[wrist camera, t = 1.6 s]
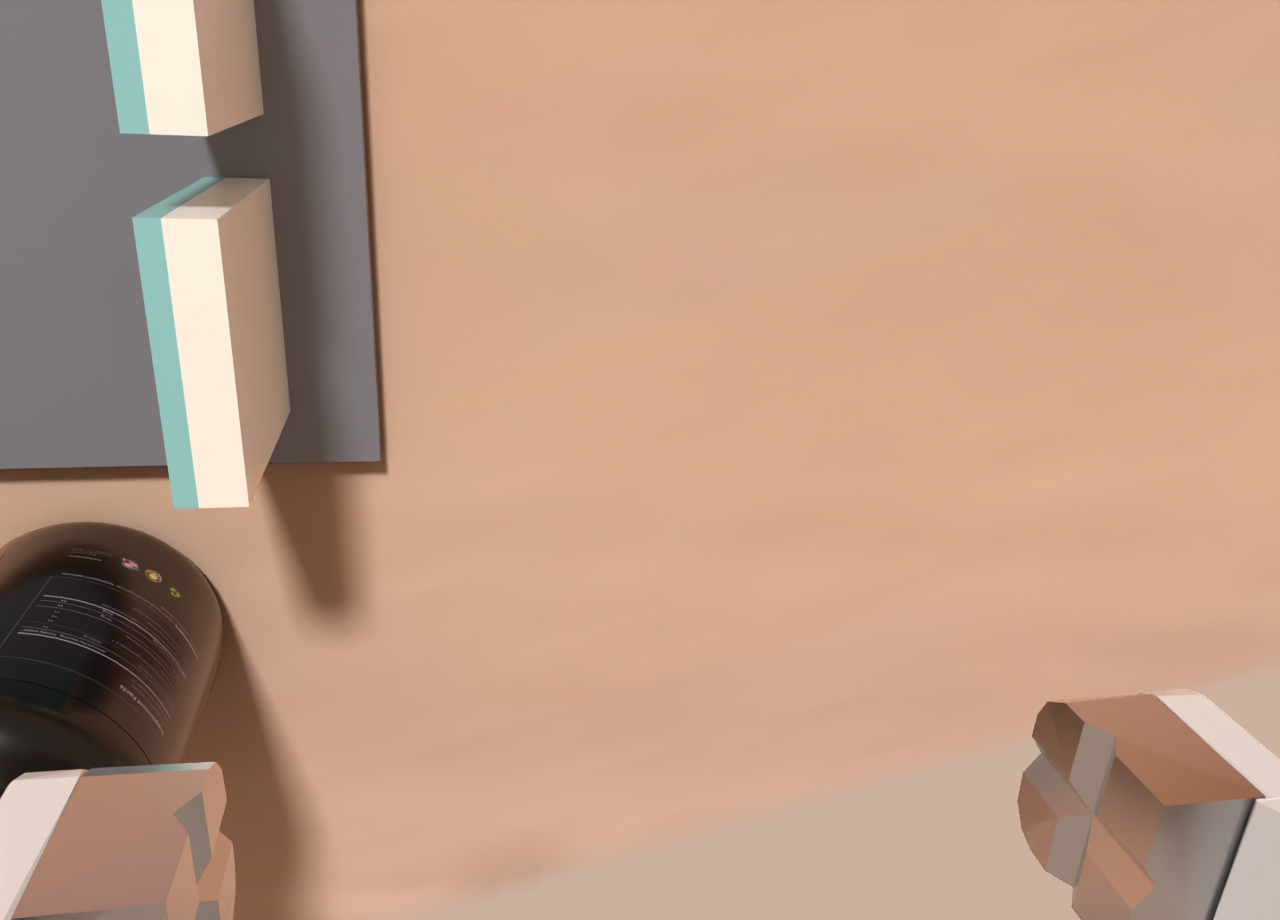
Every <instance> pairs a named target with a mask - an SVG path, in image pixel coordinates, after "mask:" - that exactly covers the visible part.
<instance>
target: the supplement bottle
mask: <svg viewBox="0 0 1280 920" xmlns="http://www.w3.org/2000/svg"><path fill="white" fill-rule="evenodd" d="M223 641H224V627H223V619H222V614H221V610H220V606H219V604H218V601H217V598H216V596H215V594H214V592H213V590H212V588H211V586H210V585H209V583H208V581H207V580H206V578H205V577H204V576H203V575H202V573H201V572H200V571H199V570H198V569H197V568H196V567H195V565H194V564H193V563H192V562H191V561H189V560H188V559H187V558H186V557H185V556H184V555H183V554H181V553H180V552H178V551H177V550H176V549H174V548H173V547H171V546H170V545H168V544H166V543H165V542H163V541H161V540H159V539H157V538H155V537H153V536H151V535H149V534H146V533H143V532H141V531H138V530H135V529H132V528H128V527H124V526H119V525H115V524H107V523H99V522H72V523H63V524H57V525H52V526H48V527H44V528H41V529H37V530H35V531H32V532H29V533H27V534H24V535H22V536H20V537H18V538H16V539H14V540H12V541H10V542H9V543H7V544H6V545H4V546H2V547H1V548H0V799H1V797H2V795H3V793H4V792H5V790H6V788H7V787H8V785H9V784H10V783H11V782H12V781H13V780H15V779H16V778H18V777H19V776H21V775H22V774H24V773H30V772H46V771H61V770H77V769H85V770H90V769H91V768H104V767H124V766H143V765H162V764H181V763H186V760H187V757H188V754H189V751H190V748H191V745H192V742H193V739H194V736H195V734H196V731H197V728H198V725H199V722H200V719H201V716H202V713H203V710H204V707H205V704H206V702H207V699H208V696H209V693H210V690H211V687H212V684H213V681H214V678H215V674H216V671H217V668H218V665H219V661H220V658H221V654H222V648H223Z"/></svg>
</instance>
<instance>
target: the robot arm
mask: <svg viewBox="0 0 1280 920" xmlns="http://www.w3.org/2000/svg"><path fill="white" fill-rule="evenodd" d="M1032 737H1033V739H1034V740H1035V742H1036V744H1037V746H1038V748H1039V749H1040V751H1041V754H1040V755H1039V756H1038V757H1037V758H1036V759H1035V760H1034V762H1033V763H1032V764H1031V765H1030V766H1029V767H1028V768H1027V769H1026V770H1025V771H1024V772H1023V775H1022V780H1021V785H1020V791H1019V796H1018V807H1019V814H1020V821H1021V828H1022V831H1023V833H1024V835H1025V838H1026V840H1027V843H1028V845H1029V847H1030V850H1031V851H1032V853H1033V854H1034V855H1035V857H1036V858H1037V859H1038V861H1039V863H1040V864H1041V865H1042V867H1043V868H1044V870H1045V871H1047V872H1049V873H1050V874H1052V875H1054V876H1055V877H1057V878H1059V879H1060V880H1062V881H1064V882H1065V883H1067V884H1069V885H1070V886H1072V887H1073V894H1072V908H1073V909H1074V911H1075V912H1076V914H1077V915H1078V916H1079V917H1080V919H1081V920H1280V760H1279V759H1278V758H1277V757H1276V756H1275V755H1274V754H1273V753H1271V752H1270V751H1269V750H1268V749H1267V748H1265V747H1264V746H1263V745H1262V744H1261V743H1259V742H1258V741H1257V740H1256V739H1255V738H1254V737H1252V736H1251V735H1250V734H1249V733H1248V732H1246V731H1245V730H1244V729H1243V728H1242V727H1240V726H1239V725H1238V724H1237V723H1236V722H1235V721H1234V720H1232V719H1231V718H1230V717H1229V716H1228V715H1226V714H1225V713H1224V712H1223V711H1222V710H1221V709H1219V708H1218V707H1217V706H1216V705H1215V704H1213V703H1212V702H1211V701H1210V700H1209V699H1208V698H1206V697H1205V696H1204V695H1203V694H1200V693H1197V692H1195V691H1192V690H1189V689H1187V688H1181V689H1171V690H1161V691H1151V692H1142V693H1139V694H1137V695H1124V696H1112V697H1099V698H1086V699H1073V700H1061V701H1048V702H1047V703H1046V704H1045V706H1044V707H1043V708H1042V710H1041V711H1040V712H1039V713H1038V715H1037V719H1036V723H1035V726H1034V730H1033V734H1032ZM226 803H227V797H226V791H225V785H224V779H223V773H222V769H221V767H220V766H219V765H218V764H217V763H216V762H200V763H181V764H162V765H143V766H124V767H104V768H91V769H90V770H85V769H77V770H61V771H46V772H30V773H24V774H22V775H21V776H19V777H18V778H16V779H15V780H13V781H12V782H11V783H10V784H9V785H8V787H7V788H6V790H5V792H4V793H3V795H2V797H1V799H0V920H233V915H234V905H235V895H236V883H235V860H234V851H233V842H232V841H231V840H230V839H228V838H227V837H226V836H225V835H224V834H223V833H221V832H220V831H219V829H220V825H221V821H222V817H223V814H224V810H225V806H226Z"/></svg>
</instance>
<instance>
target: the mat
mask: <svg viewBox="0 0 1280 920" xmlns="http://www.w3.org/2000/svg"><path fill="white" fill-rule="evenodd" d="M254 10H255V21H256V32H257V43H258V54H259V66H260V77H261V88H262V99H263V110H264V114H262V115H260V116H257V117H255V118H252V119H250V120H247V121H245V122H242V123H240V124H237V125H235V126H232V127H230V128H227V129H225V130H223V131H220V132H218V133H215V134H213V135H210V136H184V135H155V134H126V133H120V129H119V122H118V115H117V108H116V101H115V94H114V87H113V80H112V73H111V66H110V59H109V52H108V45H107V38H106V31H105V24H104V17H103V10H102V3H101V0H0V469H18V468H67V467H115V466H164V465H167V459H166V452H165V445H164V438H163V431H162V424H161V417H160V410H159V403H158V396H157V389H156V382H155V375H154V368H153V361H152V354H151V347H150V340H149V333H148V326H147V319H146V312H145V305H144V298H143V291H142V284H141V277H140V270H139V263H138V256H137V249H136V242H135V235H134V228H133V221H132V217H134V216H136V215H138V214H139V213H141V212H143V211H145V210H147V209H148V208H150V207H152V206H154V205H155V204H157V203H159V202H161V201H163V200H164V199H166V198H168V197H170V196H171V195H173V194H175V193H177V192H179V191H180V190H182V189H184V188H186V187H187V186H189V185H191V184H193V183H195V182H196V181H198V180H200V179H202V178H203V177H221V178H257V179H270V188H271V200H272V211H273V222H274V233H275V244H276V255H277V267H278V278H279V289H280V300H281V311H282V322H283V334H284V345H285V356H286V367H287V378H288V389H289V401H290V413H289V415H288V418H287V420H286V422H285V425H284V427H283V429H282V432H281V434H280V436H279V439H278V441H277V443H276V445H275V448H274V450H273V452H272V455H271V457H270V459H269V462H268V463H311V462H359V461H380V459H381V453H382V451H381V432H380V414H379V395H378V376H377V358H376V339H375V320H374V302H373V283H372V264H371V246H370V227H369V208H368V190H367V171H366V152H365V134H364V115H363V96H362V78H361V59H360V40H359V22H358V3H357V0H254Z"/></svg>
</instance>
